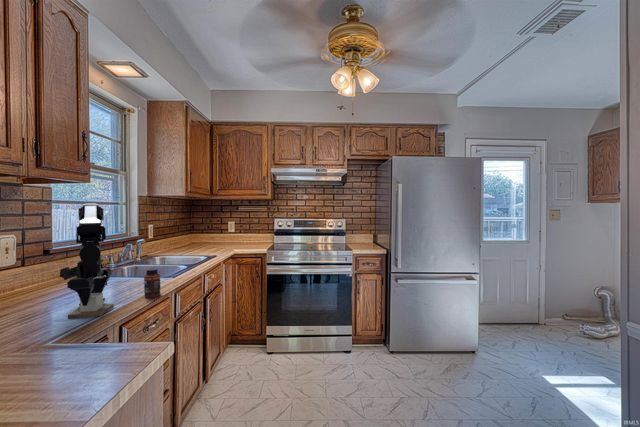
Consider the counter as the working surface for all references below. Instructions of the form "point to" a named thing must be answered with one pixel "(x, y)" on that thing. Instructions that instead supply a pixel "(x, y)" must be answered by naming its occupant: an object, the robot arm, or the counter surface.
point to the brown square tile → (90, 312)
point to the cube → (93, 303)
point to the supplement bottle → (152, 283)
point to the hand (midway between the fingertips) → (91, 301)
